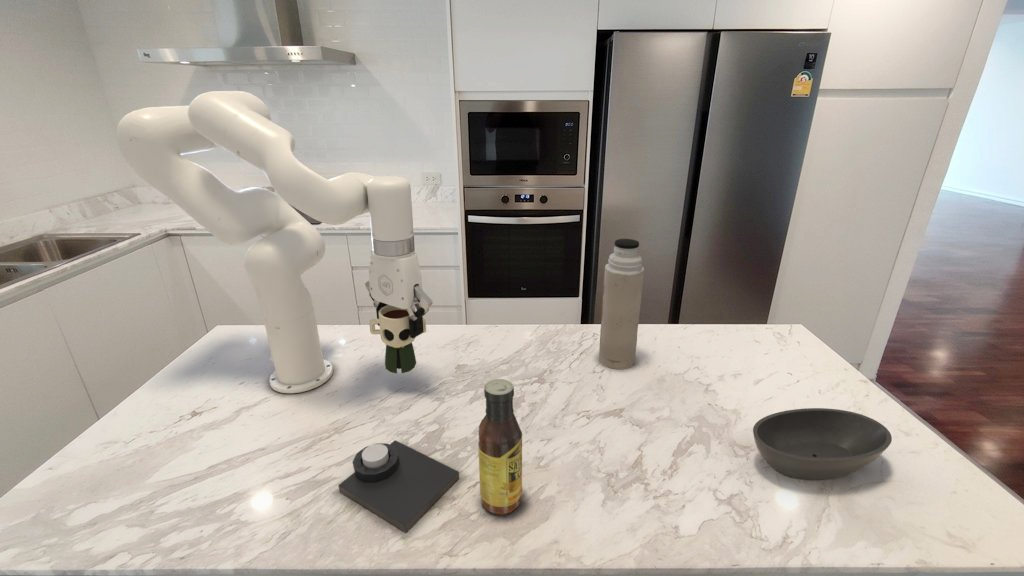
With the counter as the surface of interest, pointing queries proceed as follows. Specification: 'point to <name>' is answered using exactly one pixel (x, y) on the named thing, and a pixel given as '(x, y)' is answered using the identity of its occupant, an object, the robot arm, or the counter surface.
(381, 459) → the button
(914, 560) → the counter surface
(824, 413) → the bowl
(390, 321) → the character mug
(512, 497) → the sauce bottle
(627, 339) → the thermos bottle
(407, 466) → the scale
